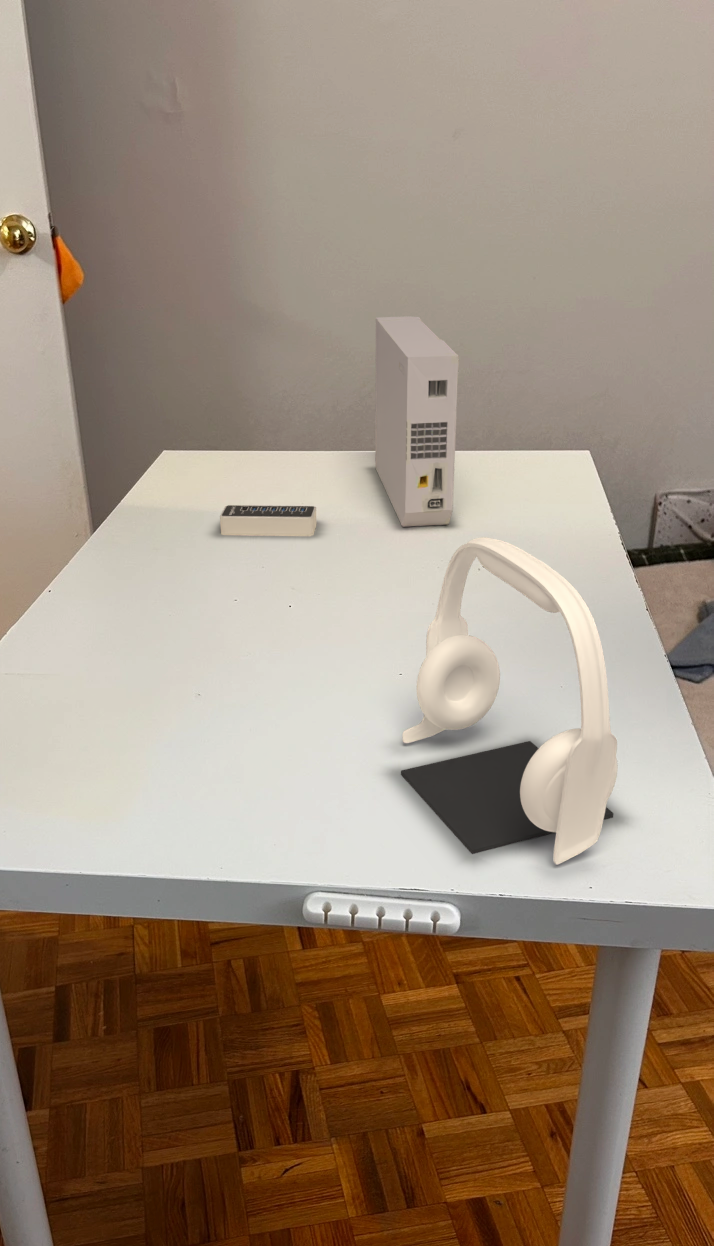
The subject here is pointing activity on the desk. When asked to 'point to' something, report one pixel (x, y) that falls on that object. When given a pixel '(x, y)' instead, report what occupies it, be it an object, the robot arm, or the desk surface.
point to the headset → (469, 682)
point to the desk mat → (480, 796)
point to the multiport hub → (268, 520)
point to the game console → (415, 420)
